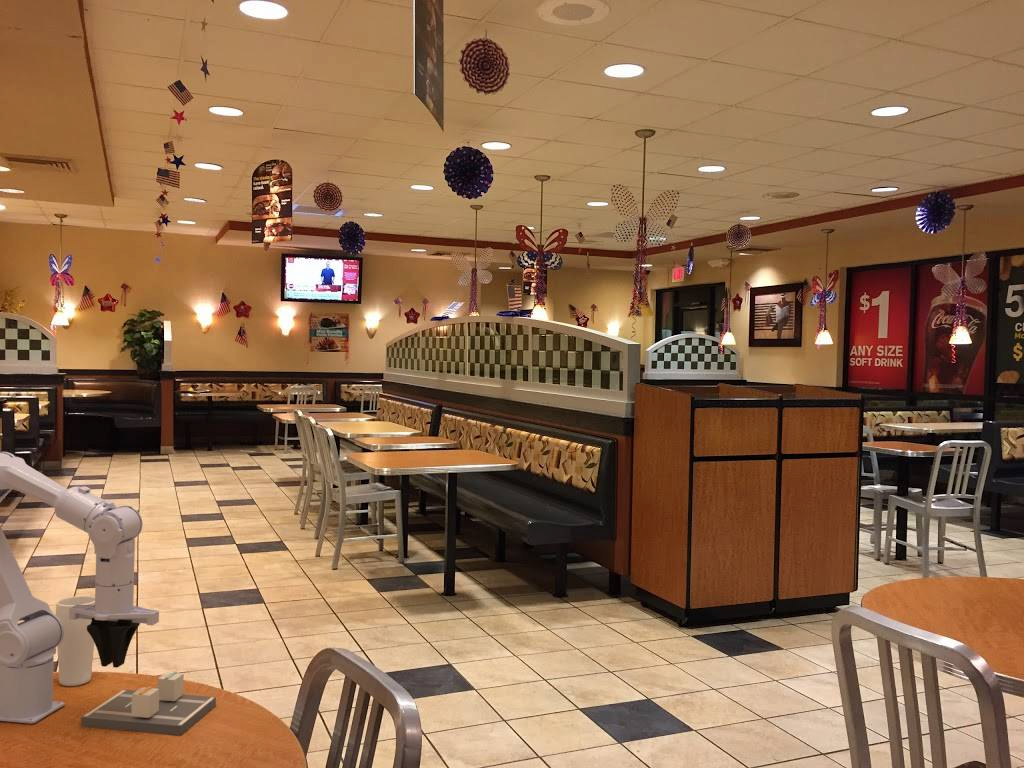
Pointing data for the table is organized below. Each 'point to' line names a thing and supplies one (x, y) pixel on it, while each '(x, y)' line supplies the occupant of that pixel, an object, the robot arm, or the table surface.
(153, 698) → the fader
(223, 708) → the table surface
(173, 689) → the fader
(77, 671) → the drinking glass
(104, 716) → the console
